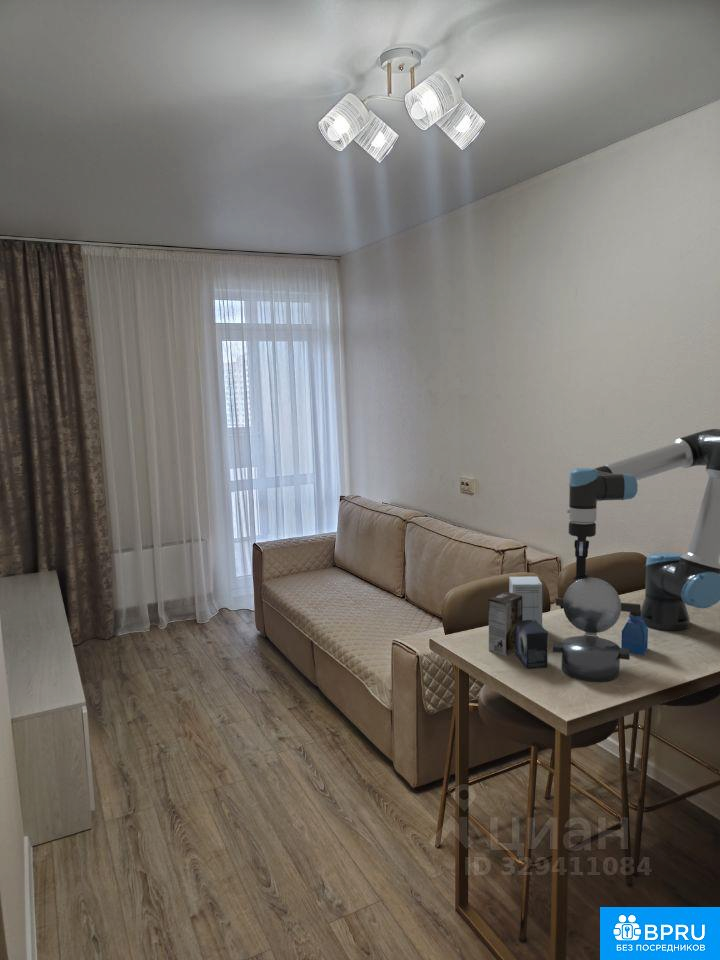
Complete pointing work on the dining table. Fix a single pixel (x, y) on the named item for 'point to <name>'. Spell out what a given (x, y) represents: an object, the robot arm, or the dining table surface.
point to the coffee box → (503, 622)
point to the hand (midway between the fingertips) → (580, 600)
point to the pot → (590, 658)
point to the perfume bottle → (635, 634)
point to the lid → (593, 605)
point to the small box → (531, 644)
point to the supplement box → (528, 596)
